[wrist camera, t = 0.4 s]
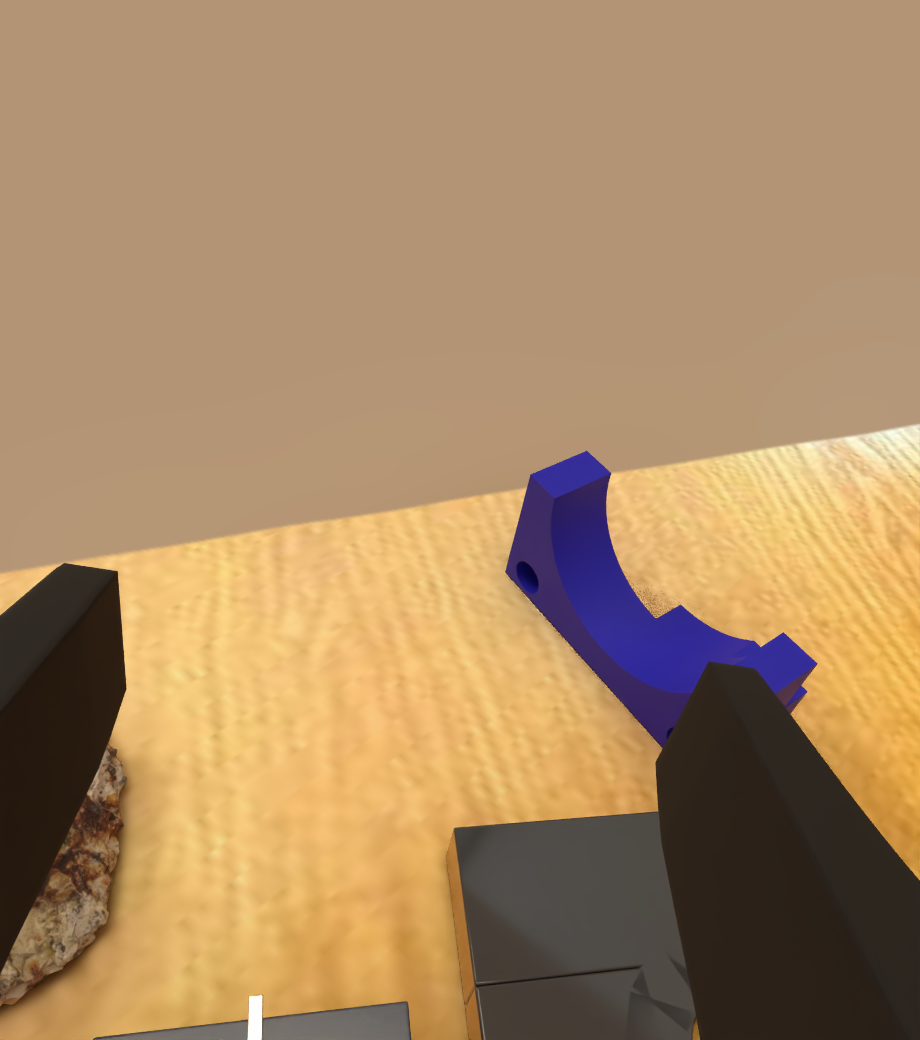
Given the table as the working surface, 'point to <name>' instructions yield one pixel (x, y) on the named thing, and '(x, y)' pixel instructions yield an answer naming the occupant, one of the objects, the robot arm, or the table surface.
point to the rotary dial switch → (296, 1026)
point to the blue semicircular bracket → (625, 605)
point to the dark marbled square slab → (568, 931)
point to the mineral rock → (71, 888)
